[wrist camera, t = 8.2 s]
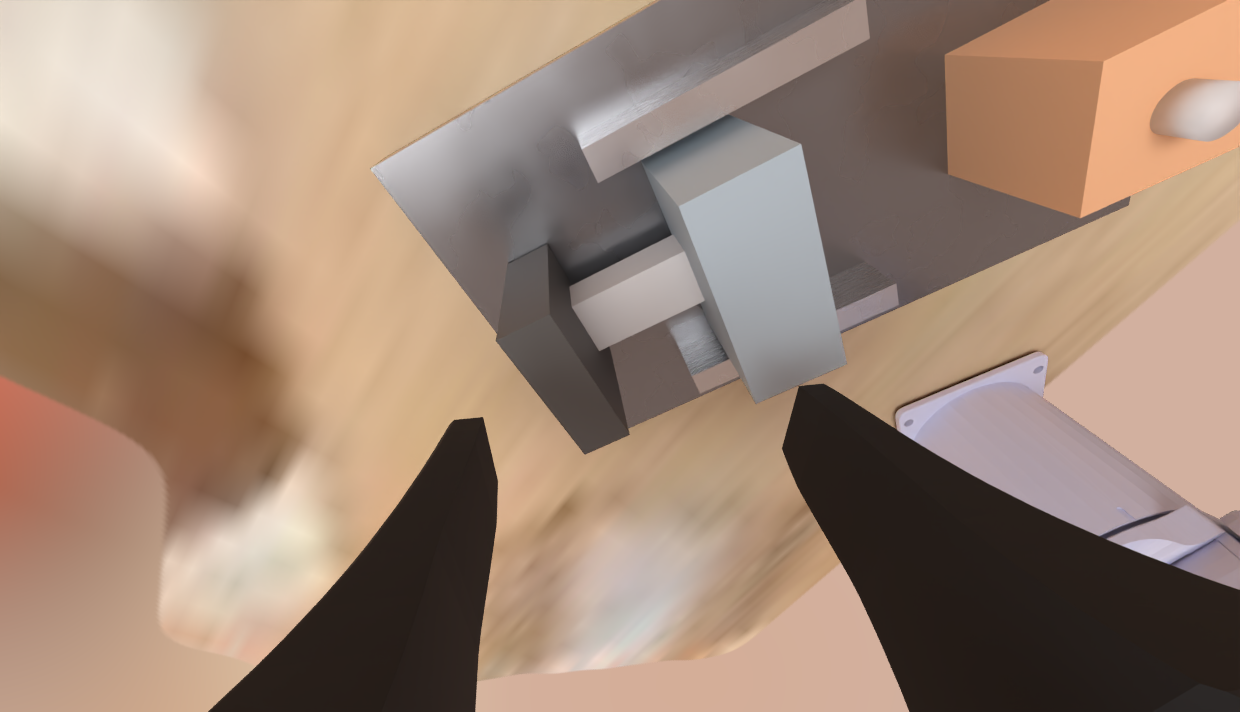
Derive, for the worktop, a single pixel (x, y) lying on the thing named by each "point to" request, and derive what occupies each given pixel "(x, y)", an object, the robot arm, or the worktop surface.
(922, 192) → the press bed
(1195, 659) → the robot arm
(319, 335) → the worktop surface
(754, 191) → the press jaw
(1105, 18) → the housing block
